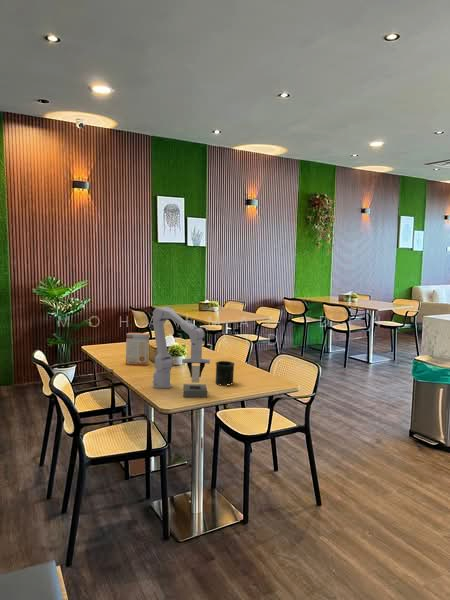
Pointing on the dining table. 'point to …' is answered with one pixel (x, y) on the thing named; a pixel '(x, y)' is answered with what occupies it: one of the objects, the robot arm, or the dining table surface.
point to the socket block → (195, 390)
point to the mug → (224, 372)
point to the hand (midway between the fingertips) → (195, 376)
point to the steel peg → (195, 374)
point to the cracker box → (137, 349)
